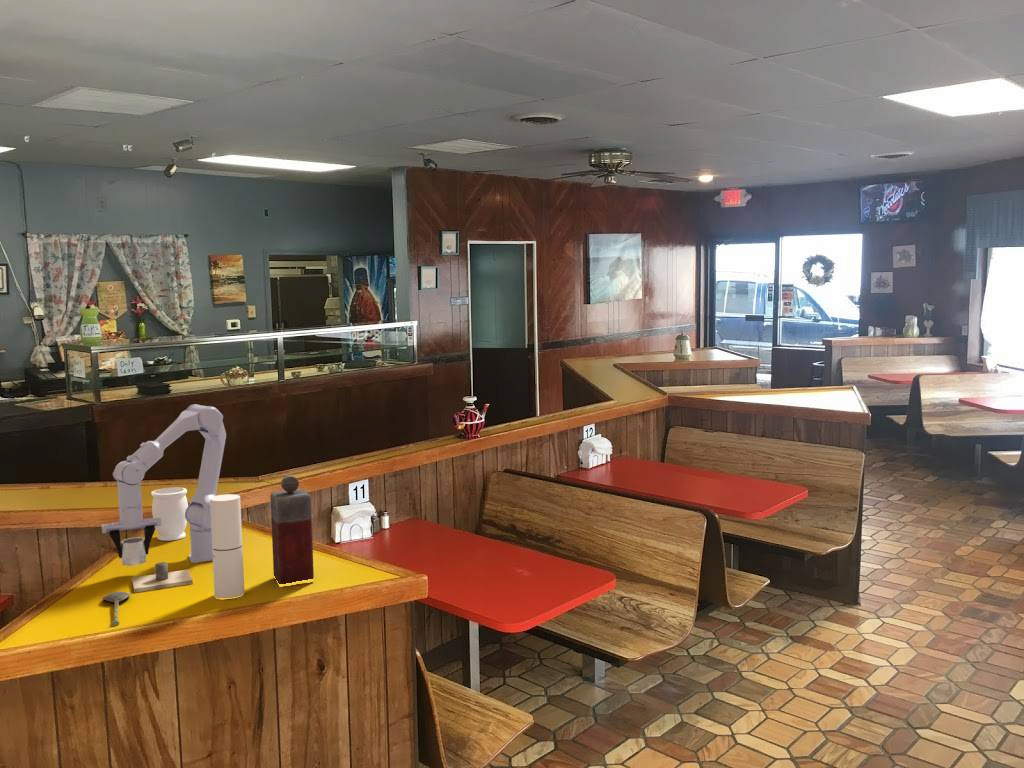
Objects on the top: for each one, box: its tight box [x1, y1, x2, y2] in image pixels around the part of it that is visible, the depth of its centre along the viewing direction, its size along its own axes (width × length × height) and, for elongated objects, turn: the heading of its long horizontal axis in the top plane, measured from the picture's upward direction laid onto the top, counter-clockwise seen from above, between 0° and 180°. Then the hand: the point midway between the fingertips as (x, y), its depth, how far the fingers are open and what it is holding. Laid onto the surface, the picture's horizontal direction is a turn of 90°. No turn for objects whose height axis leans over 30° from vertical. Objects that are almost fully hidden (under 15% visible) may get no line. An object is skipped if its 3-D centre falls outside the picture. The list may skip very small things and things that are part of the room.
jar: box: [150, 486, 189, 542], centre depth 269 cm, size 11×10×15 cm
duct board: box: [131, 561, 194, 593], centre depth 227 cm, size 14×10×5 cm
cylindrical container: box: [210, 493, 245, 598], centre depth 215 cm, size 7×7×25 cm
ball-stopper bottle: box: [270, 474, 315, 584], centre depth 227 cm, size 9×11×28 cm
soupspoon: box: [101, 591, 132, 627], centre depth 207 cm, size 22×3×7 cm
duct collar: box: [120, 536, 147, 567], centre depth 233 cm, size 6×6×6 cm
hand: (133, 555), depth 233 cm, fingers closed on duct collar, 6 cm apart
